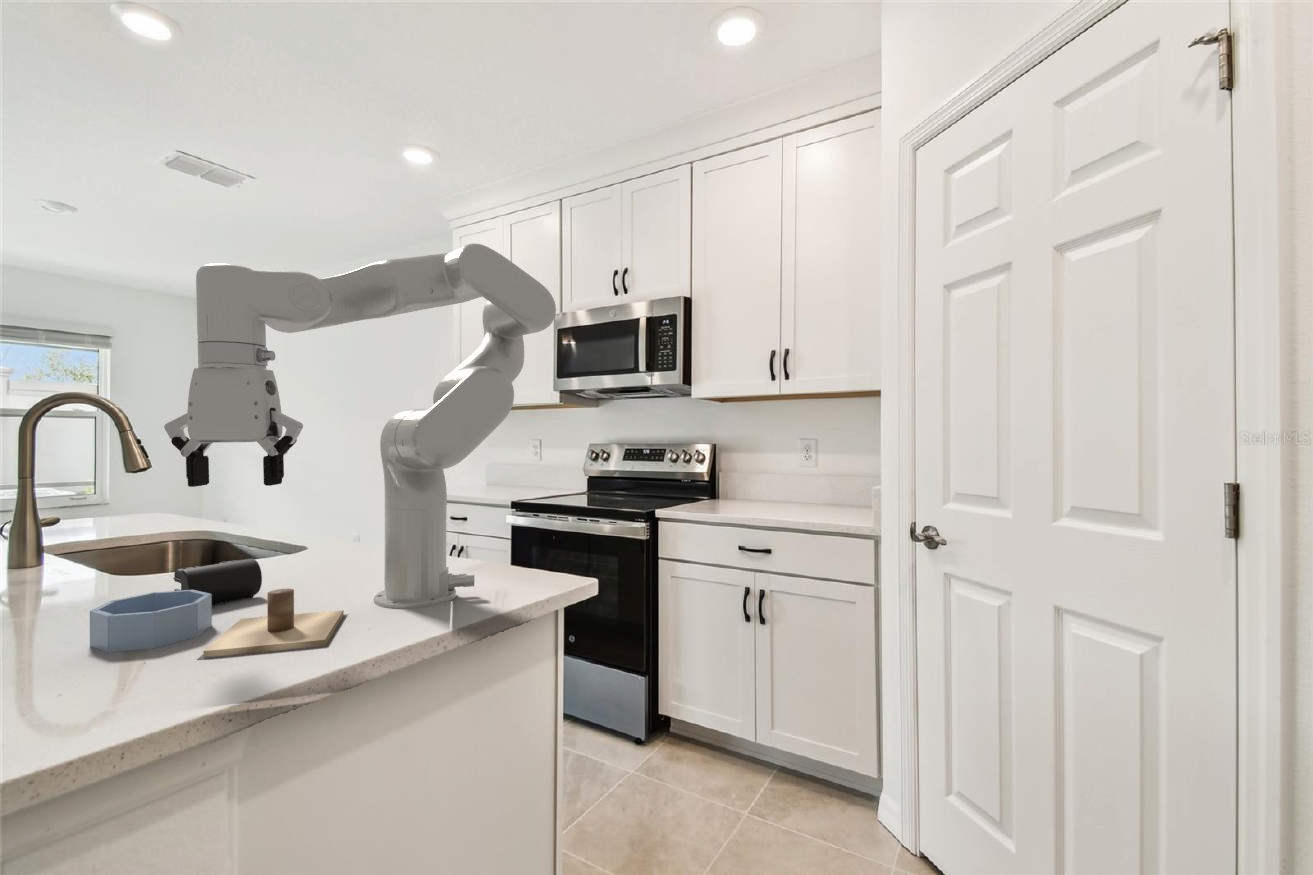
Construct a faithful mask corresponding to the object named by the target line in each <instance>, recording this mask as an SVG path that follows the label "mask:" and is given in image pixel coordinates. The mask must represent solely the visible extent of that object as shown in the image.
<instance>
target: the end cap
mask: <svg viewBox="0 0 1313 875" xmlns="http://www.w3.org/2000/svg"><path fill="white" fill-rule="evenodd" d="M173 574H174V576H173V578H172V579H173V580H174V582H175V583H179V584H180V589H179V588H174V590H173V591H181V590H197V591H201V592H206V593H210V594H212V606H214V605H219V604H223V603H228V602H233V601H237V600H238V601H239V600H243V599H253V598H254V597H255V595H257V594H259V592H260V590H261V588H262V583H263V574H262V569H261V567H260V564H259V563H258V561H257V560H256V559H254V558H247V559H240V560H239V559H238V560H237V559H231V560H227V561H225V560H222V561H221V562H218V563H214V564H208V565H203V566H202V565H201V566H197V565H196V566H195V565H192V566H191V567H185V566H183V567H182V568H178V569H176V570H175V571H174V573H173Z"/></svg>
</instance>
